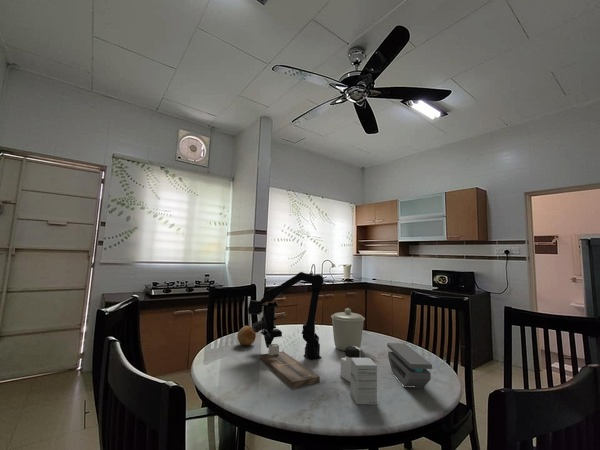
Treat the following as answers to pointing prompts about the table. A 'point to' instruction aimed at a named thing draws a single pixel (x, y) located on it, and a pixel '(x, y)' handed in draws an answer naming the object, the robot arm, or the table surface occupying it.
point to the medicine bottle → (348, 361)
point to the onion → (246, 336)
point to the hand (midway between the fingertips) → (267, 347)
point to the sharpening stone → (408, 365)
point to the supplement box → (363, 381)
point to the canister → (347, 329)
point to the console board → (290, 369)
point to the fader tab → (273, 349)
